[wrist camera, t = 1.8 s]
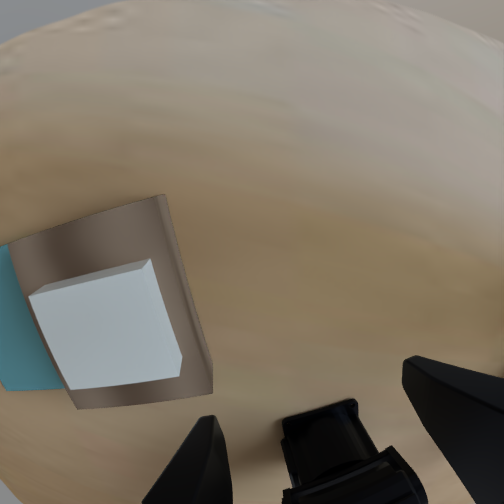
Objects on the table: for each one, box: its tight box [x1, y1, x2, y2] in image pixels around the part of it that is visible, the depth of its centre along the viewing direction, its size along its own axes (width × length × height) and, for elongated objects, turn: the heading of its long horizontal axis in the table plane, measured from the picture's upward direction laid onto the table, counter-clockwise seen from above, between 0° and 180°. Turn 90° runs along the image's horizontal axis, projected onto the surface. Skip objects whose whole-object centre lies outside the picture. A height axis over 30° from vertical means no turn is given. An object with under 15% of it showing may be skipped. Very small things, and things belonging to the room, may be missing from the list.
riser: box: [7, 194, 213, 409], centre depth 18 cm, size 10×12×4 cm
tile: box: [28, 259, 182, 390], centre depth 16 cm, size 7×6×2 cm
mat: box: [0, 244, 65, 391], centre depth 19 cm, size 10×12×1 cm
